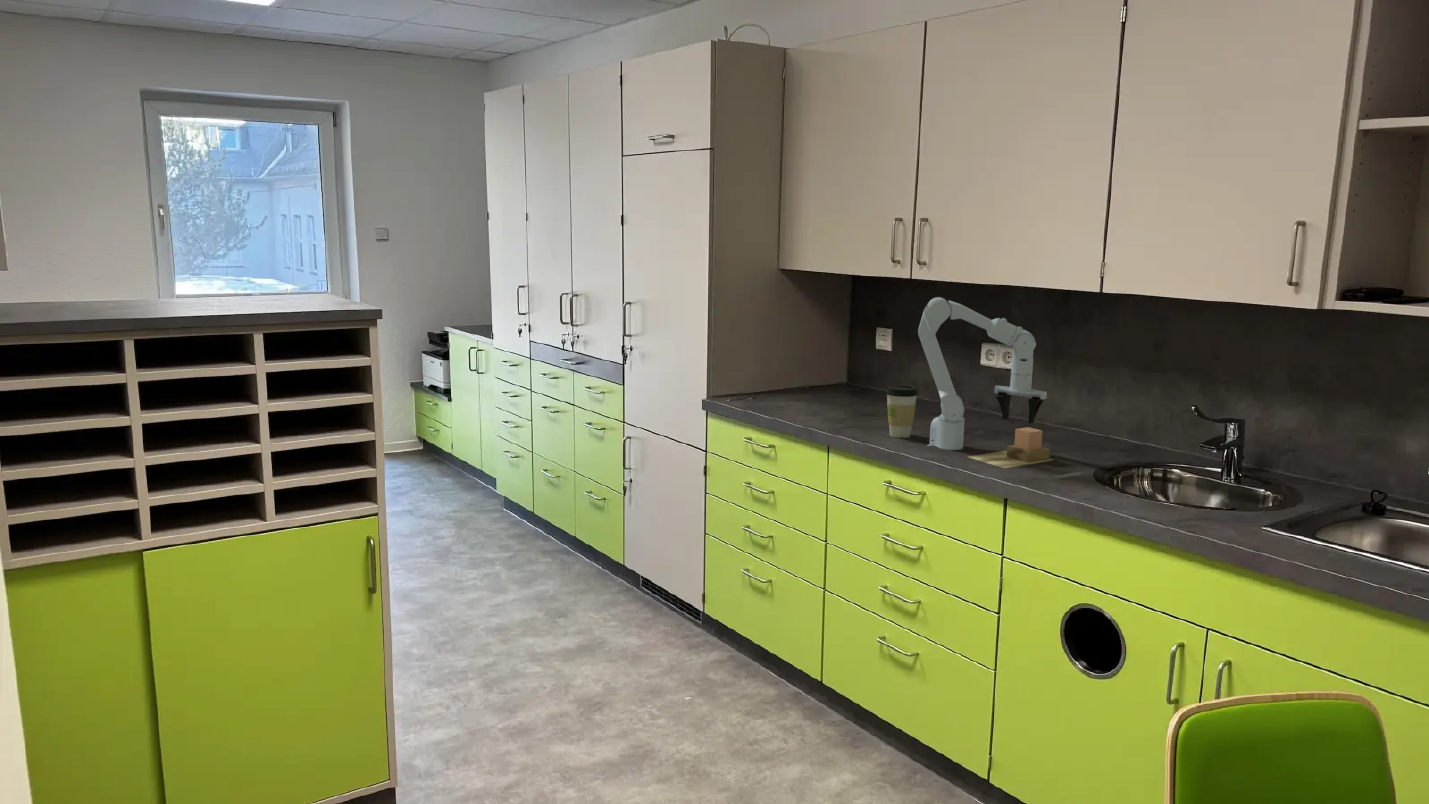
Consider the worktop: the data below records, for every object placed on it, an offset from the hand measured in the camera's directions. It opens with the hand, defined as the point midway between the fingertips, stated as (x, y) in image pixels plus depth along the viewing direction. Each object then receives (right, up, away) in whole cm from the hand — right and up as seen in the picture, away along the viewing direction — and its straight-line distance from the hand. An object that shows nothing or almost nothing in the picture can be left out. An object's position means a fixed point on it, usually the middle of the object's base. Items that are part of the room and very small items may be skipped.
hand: (1018, 420), depth 270 cm
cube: (0, -7, -8) cm, 11 cm away
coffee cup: (-29, -5, +23) cm, 37 cm away
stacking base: (-5, -11, -7) cm, 14 cm away
